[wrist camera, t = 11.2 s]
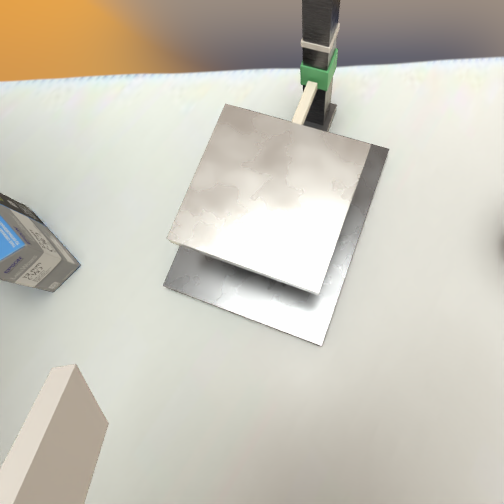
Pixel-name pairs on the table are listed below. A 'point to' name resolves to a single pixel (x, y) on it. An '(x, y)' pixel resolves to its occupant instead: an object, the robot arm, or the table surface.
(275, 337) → the table surface
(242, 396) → the table surface
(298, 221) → the pan
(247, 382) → the table surface
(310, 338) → the stand
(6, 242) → the label tape box
